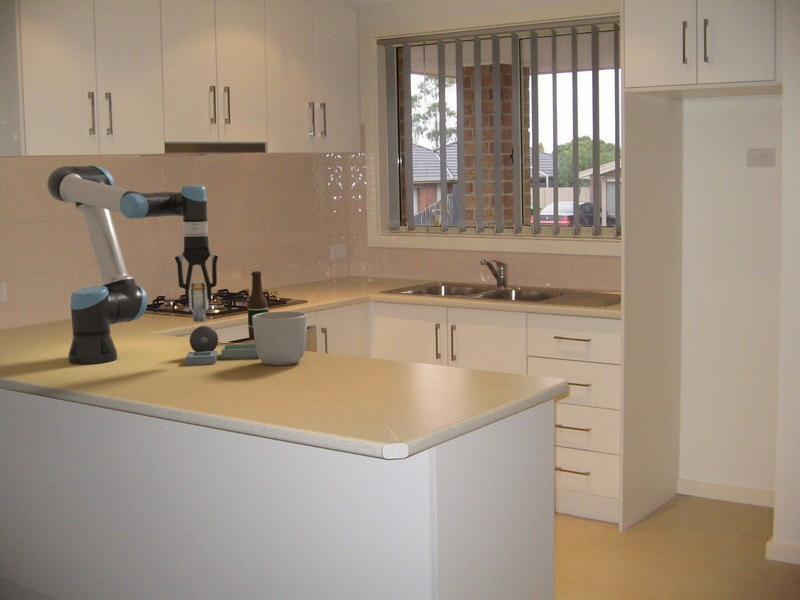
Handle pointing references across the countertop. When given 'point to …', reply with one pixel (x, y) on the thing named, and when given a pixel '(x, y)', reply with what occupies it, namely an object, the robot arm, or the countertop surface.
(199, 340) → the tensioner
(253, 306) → the beer bottle
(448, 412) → the countertop surface
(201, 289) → the pin
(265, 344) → the planter
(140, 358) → the countertop surface
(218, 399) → the countertop surface
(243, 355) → the tray
